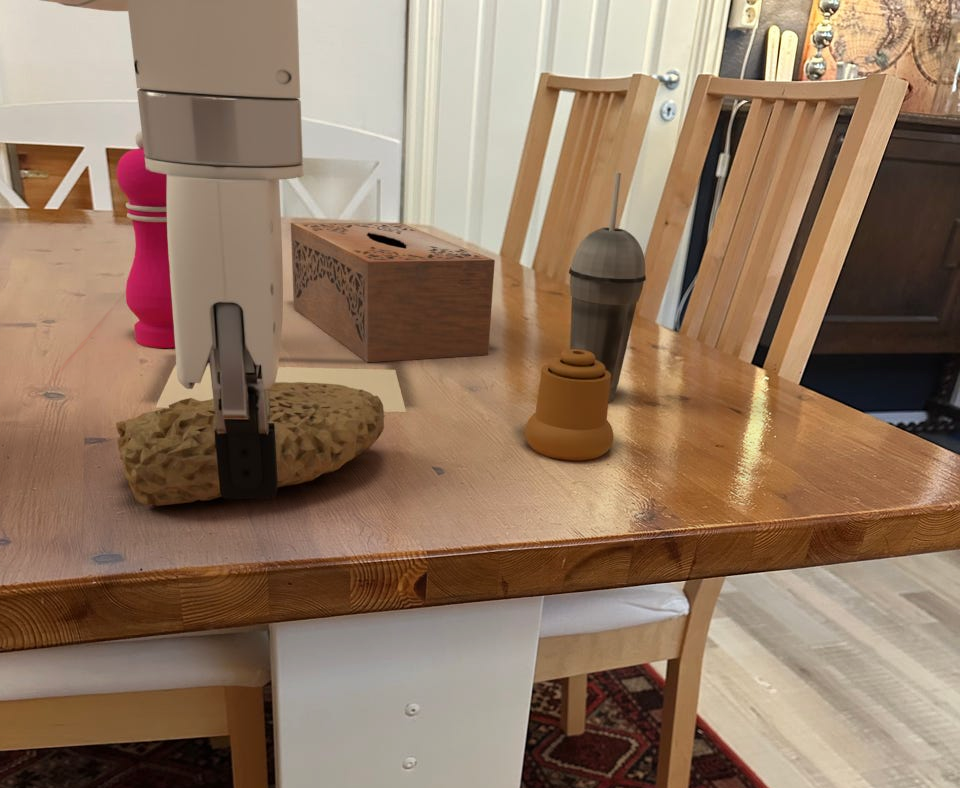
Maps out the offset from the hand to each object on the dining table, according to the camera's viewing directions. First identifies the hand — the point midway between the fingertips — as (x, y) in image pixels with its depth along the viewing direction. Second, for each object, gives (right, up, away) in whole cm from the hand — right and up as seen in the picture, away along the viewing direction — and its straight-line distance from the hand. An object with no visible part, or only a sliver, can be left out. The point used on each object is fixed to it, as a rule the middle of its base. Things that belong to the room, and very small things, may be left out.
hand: (249, 492), depth 54 cm
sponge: (-2, +3, +15) cm, 15 cm away
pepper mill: (-20, +23, +46) cm, 55 cm away
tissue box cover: (+2, +28, +56) cm, 63 cm away
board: (-5, +16, +34) cm, 38 cm away
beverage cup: (+25, +16, +38) cm, 48 cm away
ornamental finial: (+21, +8, +25) cm, 33 cm away
